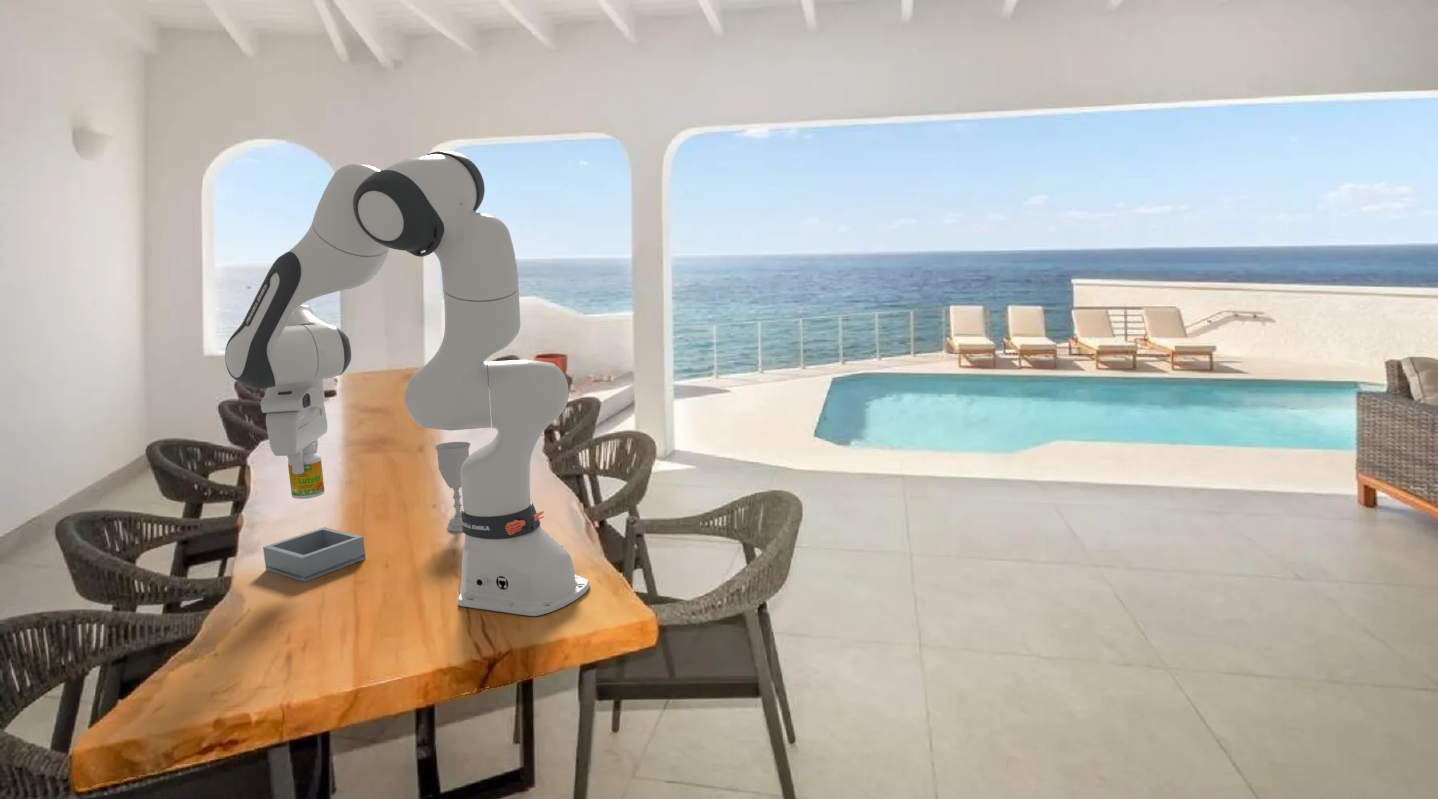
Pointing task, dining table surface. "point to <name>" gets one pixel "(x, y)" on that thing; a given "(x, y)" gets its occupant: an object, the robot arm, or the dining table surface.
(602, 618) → the dining table surface
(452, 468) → the chalice
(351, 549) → the tray
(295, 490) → the supplement bottle
